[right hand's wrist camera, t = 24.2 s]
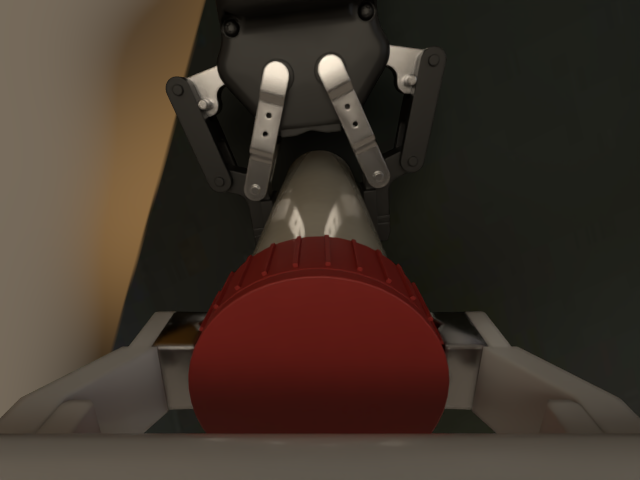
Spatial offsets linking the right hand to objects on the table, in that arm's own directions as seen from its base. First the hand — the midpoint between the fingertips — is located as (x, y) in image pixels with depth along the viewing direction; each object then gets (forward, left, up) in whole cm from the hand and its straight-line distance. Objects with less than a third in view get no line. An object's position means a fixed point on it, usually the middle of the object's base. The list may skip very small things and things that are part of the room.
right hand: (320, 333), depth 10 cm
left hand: (-2, -2, -12) cm, 13 cm away
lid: (0, 0, +2) cm, 2 cm away
